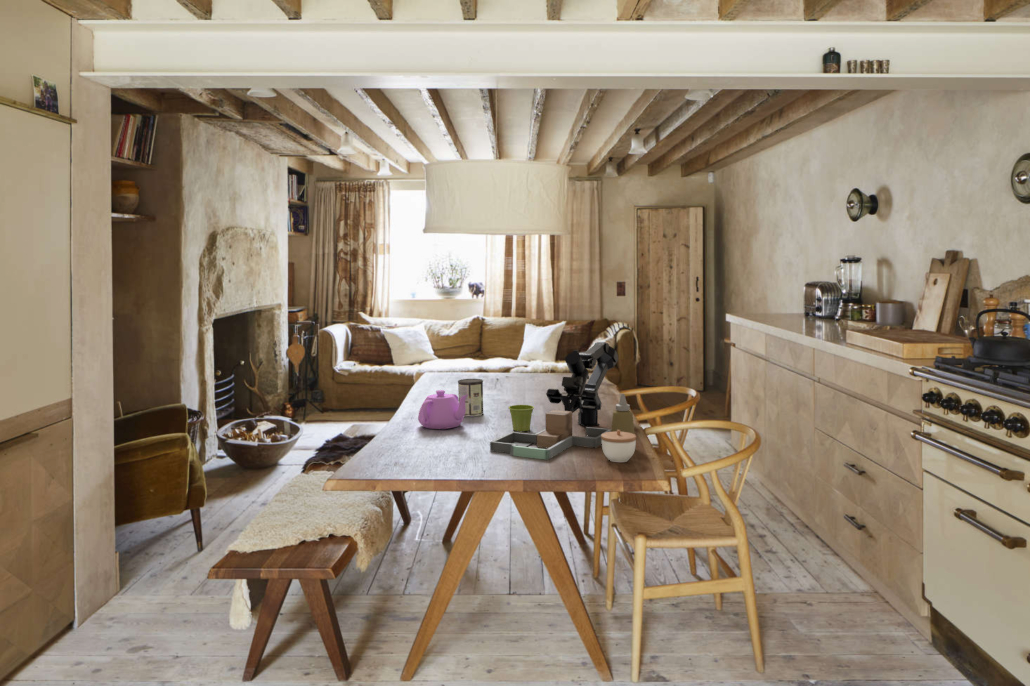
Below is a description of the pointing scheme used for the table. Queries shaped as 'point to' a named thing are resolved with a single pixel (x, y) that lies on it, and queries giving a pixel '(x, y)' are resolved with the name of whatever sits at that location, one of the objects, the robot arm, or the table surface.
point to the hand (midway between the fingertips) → (566, 416)
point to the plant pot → (521, 417)
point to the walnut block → (555, 428)
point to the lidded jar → (618, 445)
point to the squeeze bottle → (622, 417)
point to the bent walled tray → (520, 441)
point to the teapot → (442, 411)
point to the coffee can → (472, 395)
